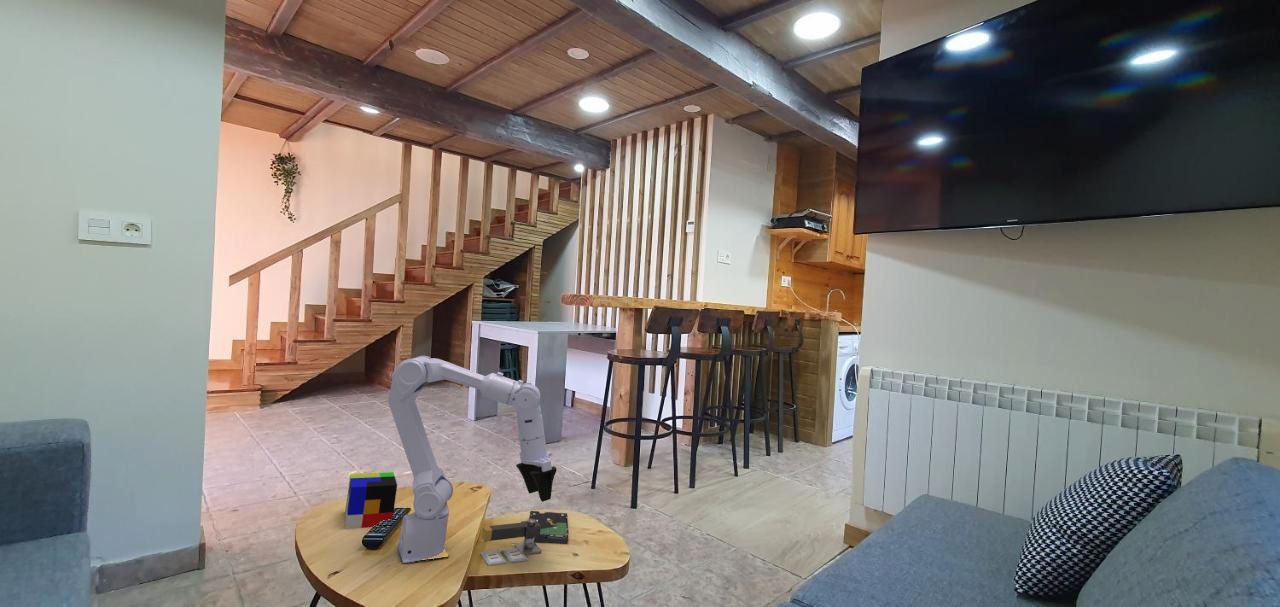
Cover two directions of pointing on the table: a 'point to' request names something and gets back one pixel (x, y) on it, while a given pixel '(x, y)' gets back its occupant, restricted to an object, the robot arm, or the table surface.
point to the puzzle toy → (370, 499)
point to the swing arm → (510, 531)
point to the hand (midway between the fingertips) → (539, 496)
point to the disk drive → (551, 527)
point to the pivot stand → (528, 544)
